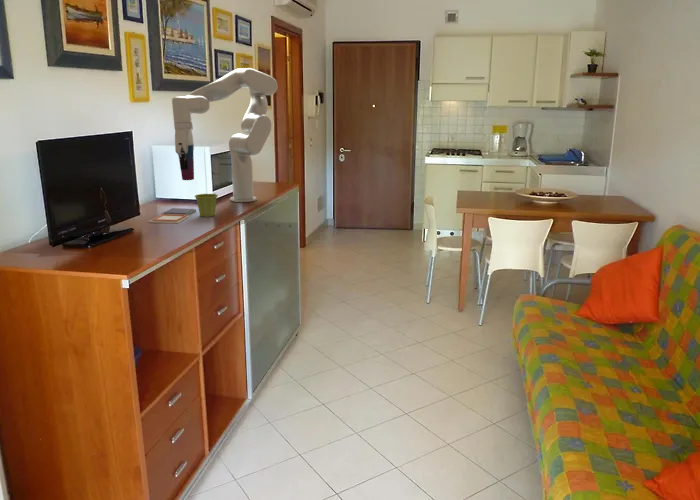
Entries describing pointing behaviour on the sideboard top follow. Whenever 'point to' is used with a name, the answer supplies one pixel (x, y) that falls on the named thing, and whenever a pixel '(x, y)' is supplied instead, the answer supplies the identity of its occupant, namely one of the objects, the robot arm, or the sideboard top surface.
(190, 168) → the cup
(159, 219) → the cream flat square piece
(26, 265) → the sideboard top surface
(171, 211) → the ink pad
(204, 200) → the plant pot
